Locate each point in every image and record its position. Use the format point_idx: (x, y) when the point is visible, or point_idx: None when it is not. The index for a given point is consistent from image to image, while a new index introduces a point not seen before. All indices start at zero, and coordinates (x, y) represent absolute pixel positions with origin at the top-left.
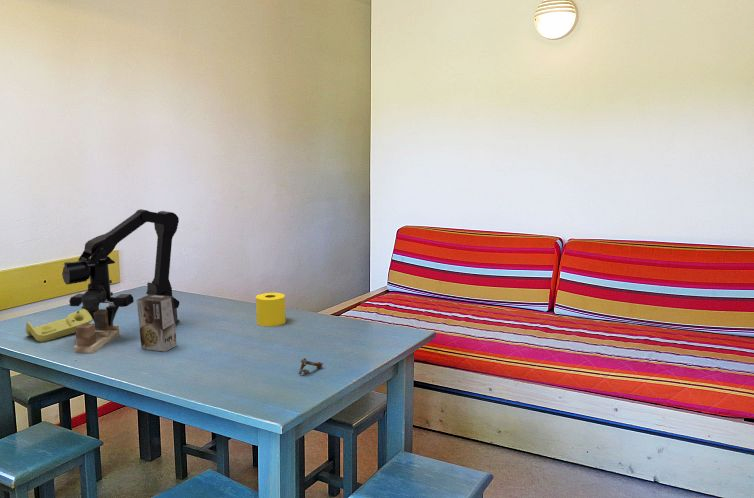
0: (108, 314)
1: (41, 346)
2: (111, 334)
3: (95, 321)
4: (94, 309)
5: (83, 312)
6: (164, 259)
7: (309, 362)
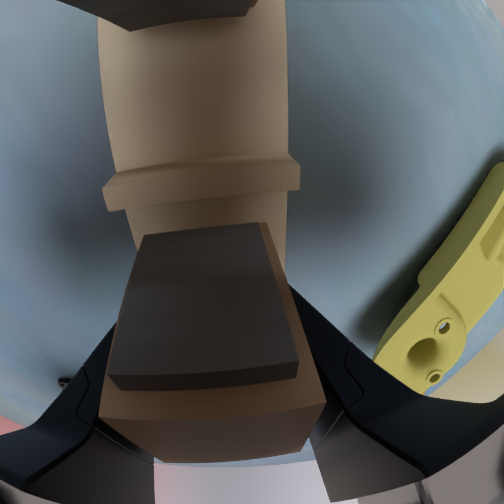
0: (98, 396)
1: (490, 95)
2: (132, 233)
3: (259, 275)
4: (340, 446)
5: (414, 386)
6: None
7: None
